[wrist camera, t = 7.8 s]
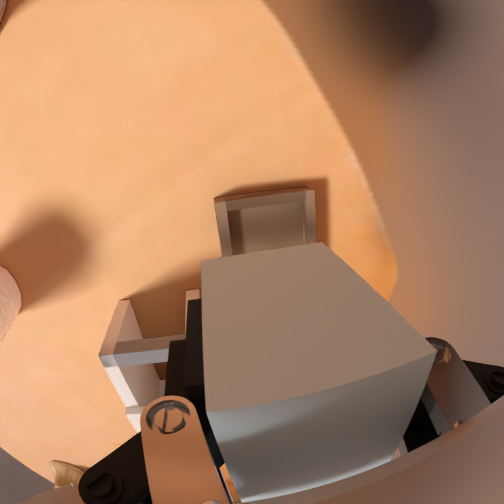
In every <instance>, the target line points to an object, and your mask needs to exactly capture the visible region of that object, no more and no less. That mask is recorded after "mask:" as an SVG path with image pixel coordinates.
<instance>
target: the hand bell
mask: <svg viewBox="0 0 504 504" xmlns="http://www.w3.org/2000/svg"><path fill="white" fill-rule="evenodd" d="M50 467H51V469H52V470H53V473H54V477H55V489H56V488H59V487H61V486H64V485H66V484H69V483H72V484H73V485H76V484H79V480H80V478H81V477H82V475H83V474H84V473H85V472H84V471H83V470H81V469H79V468H78V467H76V466H73V465H71V464H69V463H65V462H62V461H51V462H50Z"/></svg>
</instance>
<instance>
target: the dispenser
mask: <svg viewBox="0 0 504 504" xmlns="http://www.w3.org/2000/svg"><path fill="white" fill-rule="evenodd" d="M199 298H201V296H200V292H199V289H195V290H189V291H186V315H185V333H184V334H177V335H170V336H163V337H155V338H147V339H143V336H142V333H141V331H140V328H139V325H138V322H137V319H136V316H135V313H134V310H133V307H132V304H131V301H130V299H129V300H122V301H118V303H117V306H116V308H115V311H114V314H113V316H112V319H111V322H110V324H109V327H108V330H107V332H106V335H105V338H104V341H103V344H102V347H101V350H100V352H99V355H98V356H99V358H100V360H101V362H102V364H103V366H104V368H105V370H106V372H107V374H108V376H109V377H110V379H111V381H112V383H113V385H114V387H115V389H116V390H117V392H118V394H119V396H120V397H121V399H122V401H123V403H124V404H125V406H126V413H125V415H126V416H127V418H128V419H129V421H130V422H131V424H132V426H133V427H134V429H135V430H136V432H137V433H139V432H140V431H141V427H140V416H141V413H142V411H143V409H144V408H145V407H146V406H147V405H148V404H149V403H150V402H152V401H154V400H155V399H158V398H161V397H164V393H165V381H166V379H165V380H160V379H159V377H158V374H157V372H156V369H155V367H154V365H153V363H159V362H167V361H168V352H169V344H170V341H173V340H181V339H186V320H187V303H188V300H192V299H199Z"/></svg>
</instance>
